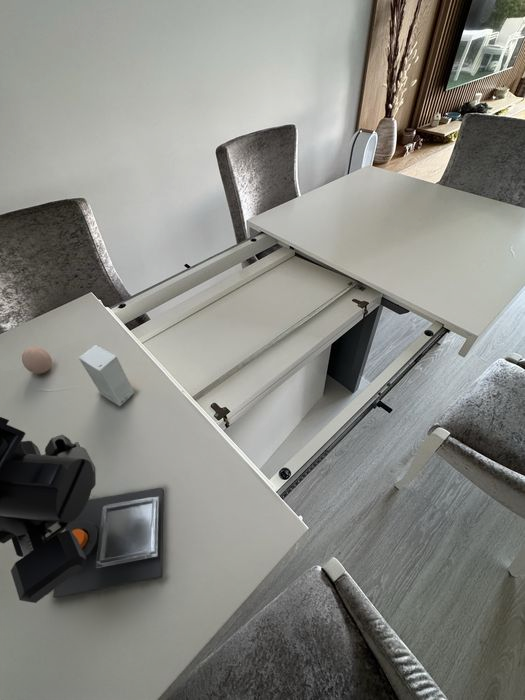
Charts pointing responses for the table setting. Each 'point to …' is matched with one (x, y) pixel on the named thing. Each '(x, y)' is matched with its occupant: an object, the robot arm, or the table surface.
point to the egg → (36, 360)
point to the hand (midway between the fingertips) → (60, 529)
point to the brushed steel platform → (128, 532)
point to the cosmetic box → (107, 374)
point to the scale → (89, 574)
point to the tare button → (81, 537)
